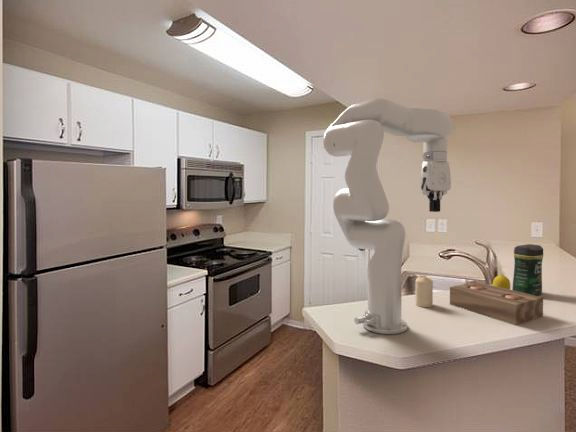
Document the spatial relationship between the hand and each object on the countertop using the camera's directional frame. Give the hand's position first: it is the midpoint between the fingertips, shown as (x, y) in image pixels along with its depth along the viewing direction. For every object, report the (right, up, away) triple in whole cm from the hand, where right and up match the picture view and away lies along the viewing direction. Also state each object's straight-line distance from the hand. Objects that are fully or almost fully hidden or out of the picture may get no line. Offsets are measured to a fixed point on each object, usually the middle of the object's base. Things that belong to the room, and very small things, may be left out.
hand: (434, 211), depth 120 cm
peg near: (+19, -33, -12) cm, 40 cm away
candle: (-4, -33, 0) cm, 33 cm away
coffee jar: (+39, -31, +10) cm, 51 cm away
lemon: (+28, -31, +8) cm, 43 cm away
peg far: (+14, -32, -1) cm, 35 cm away
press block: (+16, -32, -7) cm, 37 cm away
